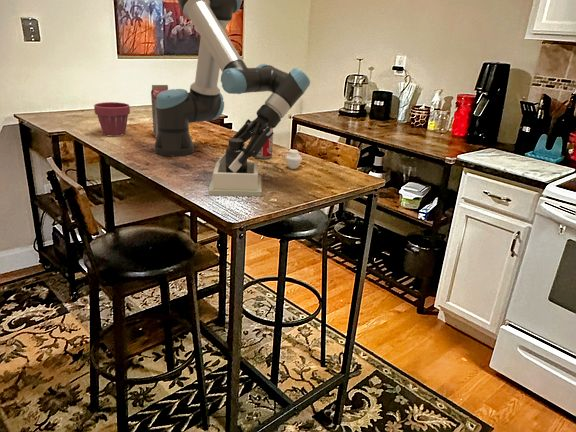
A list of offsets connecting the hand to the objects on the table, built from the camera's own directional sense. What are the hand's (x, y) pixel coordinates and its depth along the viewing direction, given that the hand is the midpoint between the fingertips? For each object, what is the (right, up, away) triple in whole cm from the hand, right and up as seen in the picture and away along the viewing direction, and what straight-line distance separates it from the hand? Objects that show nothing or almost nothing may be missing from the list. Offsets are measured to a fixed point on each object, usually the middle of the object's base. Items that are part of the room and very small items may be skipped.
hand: (226, 167), depth 145 cm
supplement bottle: (+3, -3, +3) cm, 5 cm away
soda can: (+9, +8, +38) cm, 40 cm away
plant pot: (-57, +21, +60) cm, 85 cm away
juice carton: (-36, +20, +61) cm, 73 cm away
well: (+3, -6, +5) cm, 8 cm away
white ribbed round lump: (+21, +2, +27) cm, 35 cm away
